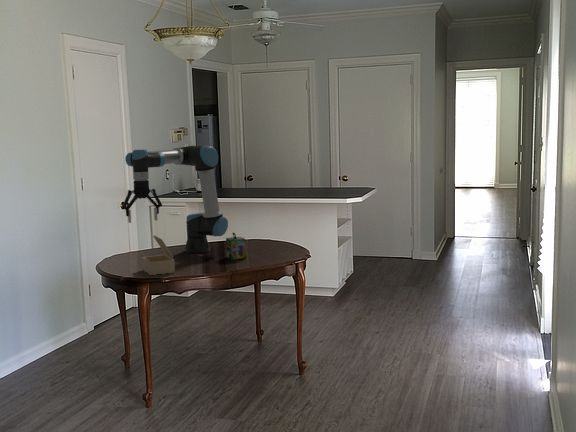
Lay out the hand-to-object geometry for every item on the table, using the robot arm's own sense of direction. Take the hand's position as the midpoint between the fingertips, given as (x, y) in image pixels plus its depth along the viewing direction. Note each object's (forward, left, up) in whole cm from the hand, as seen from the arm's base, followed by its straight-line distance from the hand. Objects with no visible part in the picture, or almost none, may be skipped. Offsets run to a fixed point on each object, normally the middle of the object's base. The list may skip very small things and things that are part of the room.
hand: (142, 221), depth 321 cm
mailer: (-2, +7, -28) cm, 28 cm away
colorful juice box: (-11, +55, -28) cm, 63 cm away
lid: (-2, +10, -15) cm, 18 cm away
